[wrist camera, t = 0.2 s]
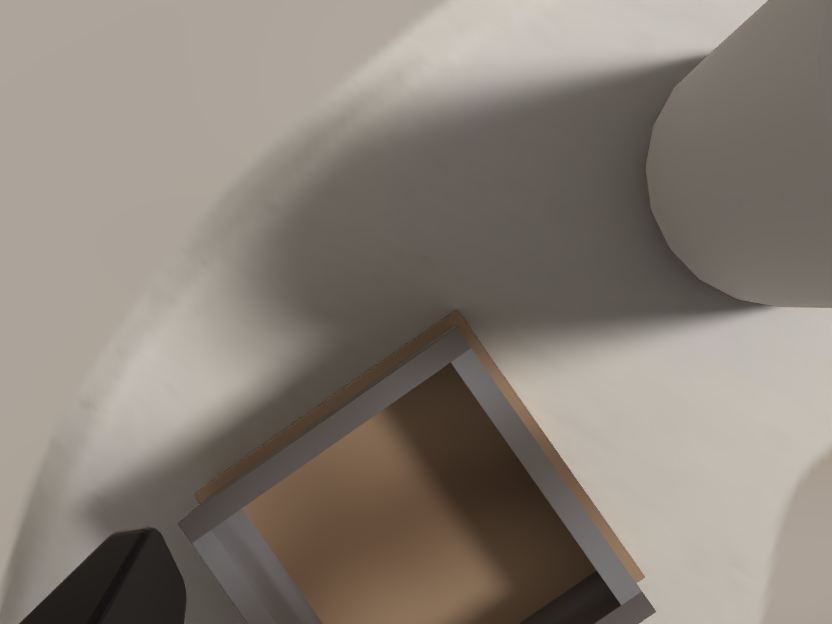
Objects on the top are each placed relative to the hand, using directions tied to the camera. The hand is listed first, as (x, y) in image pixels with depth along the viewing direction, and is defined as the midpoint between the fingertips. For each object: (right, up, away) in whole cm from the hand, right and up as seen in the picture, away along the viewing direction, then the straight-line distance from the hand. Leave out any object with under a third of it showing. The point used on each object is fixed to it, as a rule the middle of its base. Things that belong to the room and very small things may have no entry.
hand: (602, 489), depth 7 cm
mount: (-2, -4, +14) cm, 15 cm away
